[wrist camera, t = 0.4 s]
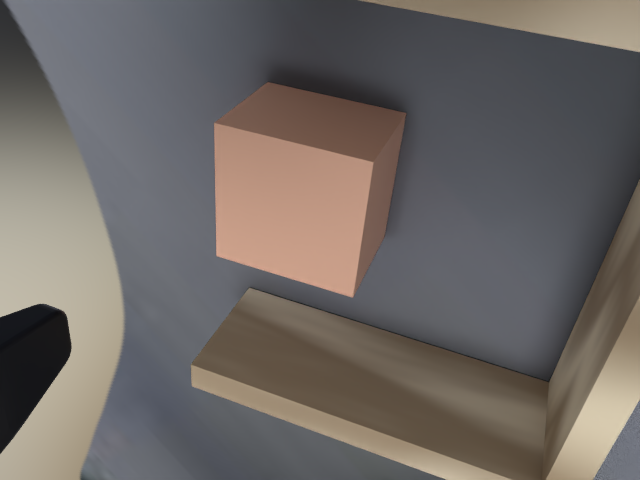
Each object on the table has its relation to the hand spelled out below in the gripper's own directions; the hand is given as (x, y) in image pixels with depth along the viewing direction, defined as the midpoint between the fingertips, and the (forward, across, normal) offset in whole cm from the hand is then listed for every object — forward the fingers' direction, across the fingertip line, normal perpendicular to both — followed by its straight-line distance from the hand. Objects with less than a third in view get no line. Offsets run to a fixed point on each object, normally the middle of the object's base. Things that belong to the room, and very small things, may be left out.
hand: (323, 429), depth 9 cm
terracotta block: (+14, +4, +3) cm, 15 cm away
